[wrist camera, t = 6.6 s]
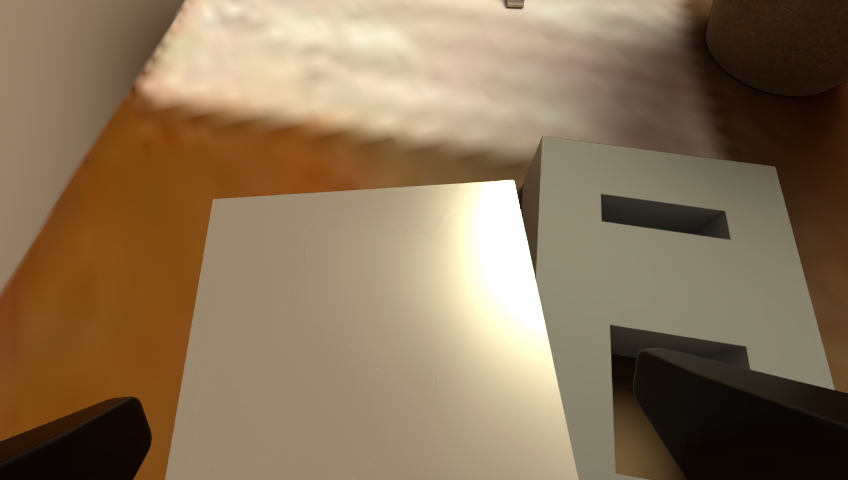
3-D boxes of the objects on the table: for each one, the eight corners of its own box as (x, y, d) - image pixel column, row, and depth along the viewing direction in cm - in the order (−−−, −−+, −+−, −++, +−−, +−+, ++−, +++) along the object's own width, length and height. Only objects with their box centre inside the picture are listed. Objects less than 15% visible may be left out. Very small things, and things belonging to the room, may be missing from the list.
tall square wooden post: (453, 464, 14) (590, 537, 3) (367, 472, 14) (147, 584, 3) (444, 375, 16) (513, 180, 4) (366, 382, 16) (214, 200, 4)
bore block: (778, 553, 13) (886, 585, 10) (501, 500, 14) (525, 516, 11) (717, 212, 19) (775, 166, 16) (523, 185, 20) (542, 136, 17)
